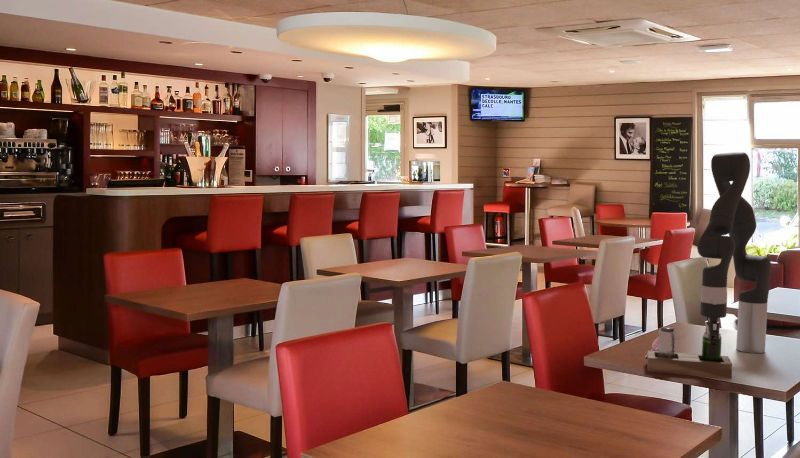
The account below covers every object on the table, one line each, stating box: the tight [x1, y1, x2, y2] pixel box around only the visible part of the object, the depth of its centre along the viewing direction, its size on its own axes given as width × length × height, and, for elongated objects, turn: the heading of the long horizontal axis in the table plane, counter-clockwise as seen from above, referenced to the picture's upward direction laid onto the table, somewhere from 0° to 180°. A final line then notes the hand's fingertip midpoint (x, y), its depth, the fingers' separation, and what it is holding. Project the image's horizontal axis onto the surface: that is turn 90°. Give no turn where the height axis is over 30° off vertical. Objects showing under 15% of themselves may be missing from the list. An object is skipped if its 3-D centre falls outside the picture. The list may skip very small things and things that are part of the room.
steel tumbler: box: [658, 326, 676, 359], centre depth 255 cm, size 5×5×13 cm
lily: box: [644, 336, 659, 359], centre depth 271 cm, size 12×12×10 cm
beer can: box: [701, 332, 722, 362], centre depth 251 cm, size 5×5×12 cm
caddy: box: [646, 349, 733, 379], centre depth 253 cm, size 11×24×5 cm, turn 74°
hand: (711, 353), depth 251 cm, fingers open, 8 cm apart
